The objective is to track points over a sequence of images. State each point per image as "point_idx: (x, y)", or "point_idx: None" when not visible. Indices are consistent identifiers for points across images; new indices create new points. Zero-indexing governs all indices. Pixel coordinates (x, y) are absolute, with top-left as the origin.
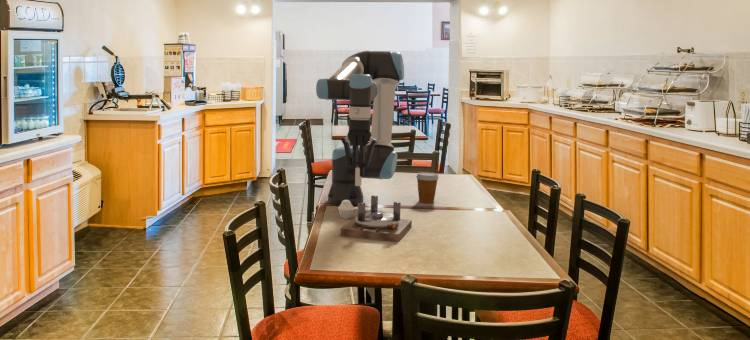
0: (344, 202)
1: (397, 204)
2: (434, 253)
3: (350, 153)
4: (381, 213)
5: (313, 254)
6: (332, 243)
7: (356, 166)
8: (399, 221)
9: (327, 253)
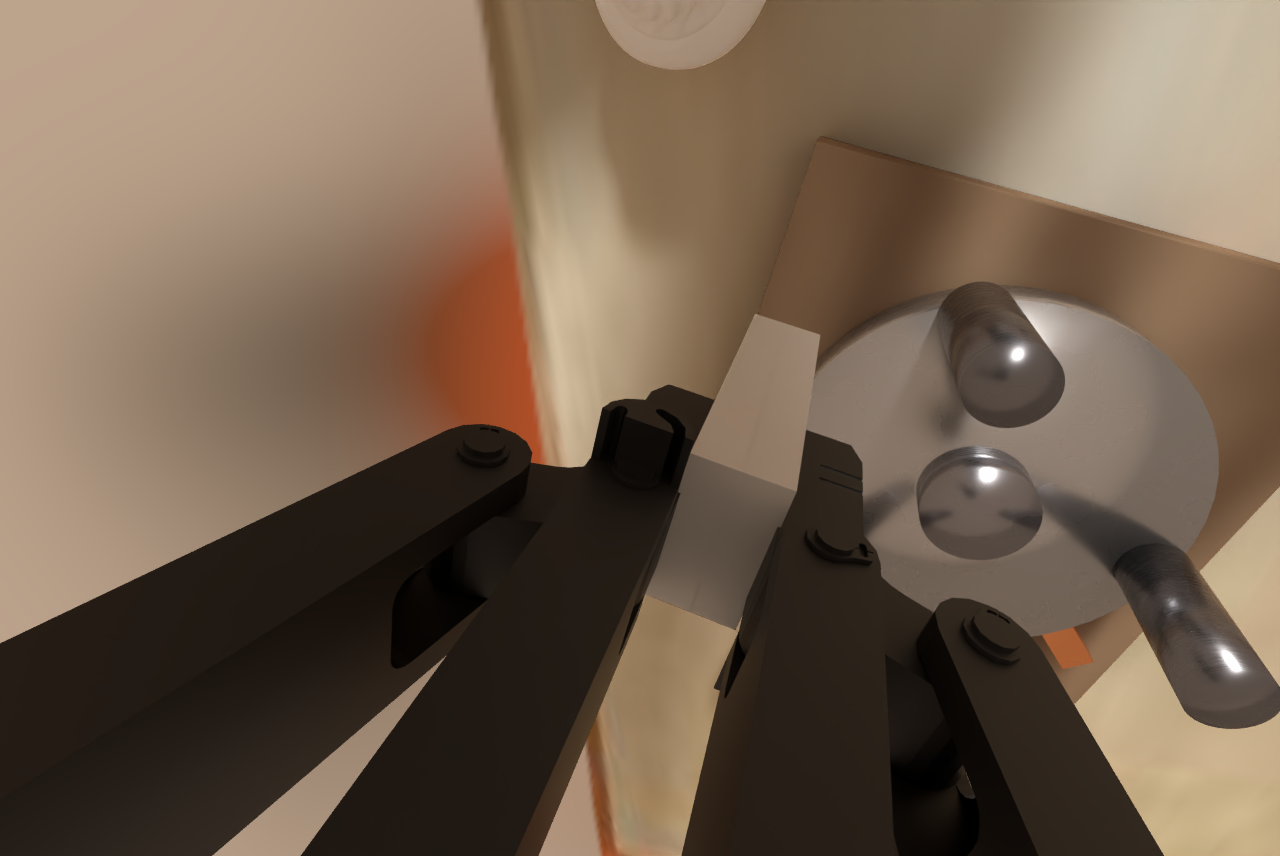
0: (640, 5)
1: (1214, 717)
2: (1230, 852)
3: (260, 700)
4: (1019, 531)
5: (600, 743)
6: (659, 635)
7: (657, 557)
8: (1235, 380)
9: (654, 744)
